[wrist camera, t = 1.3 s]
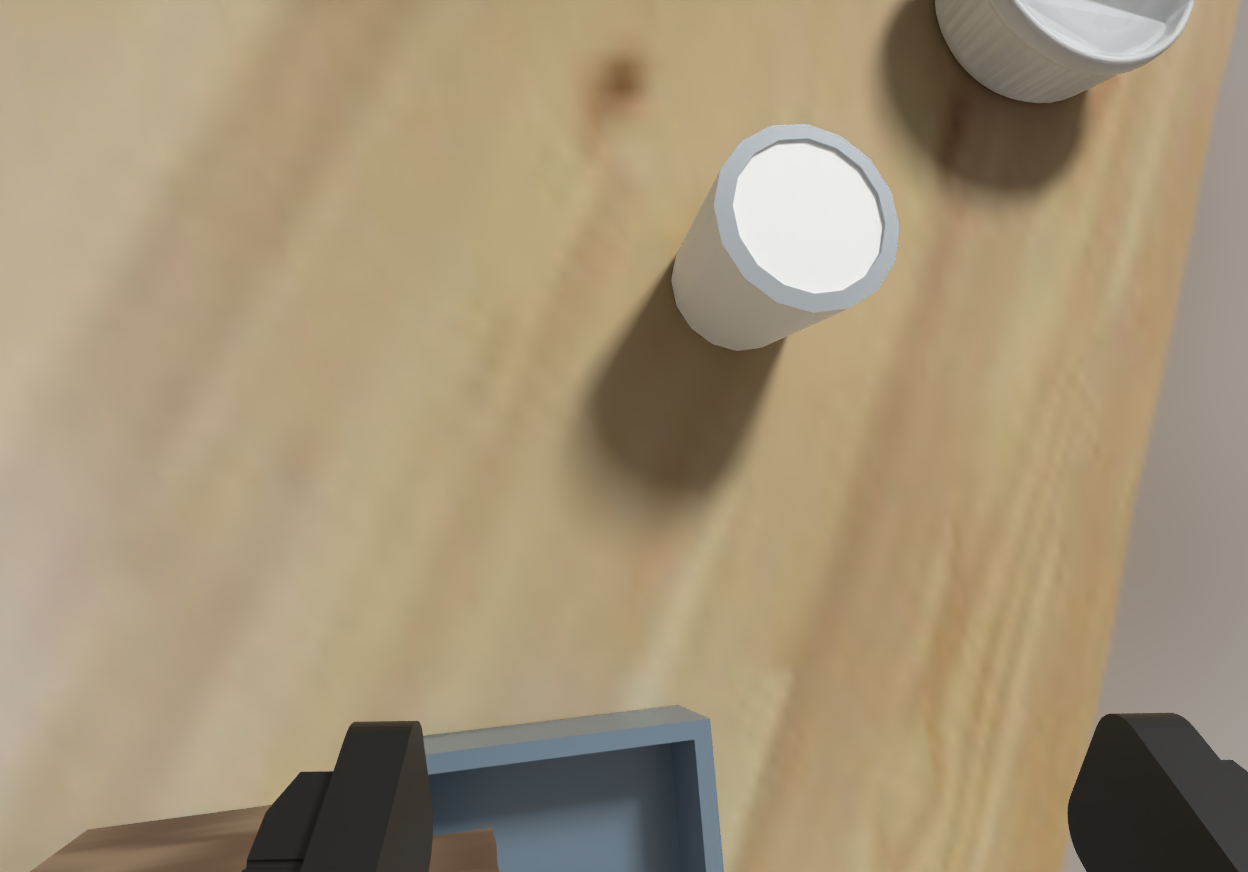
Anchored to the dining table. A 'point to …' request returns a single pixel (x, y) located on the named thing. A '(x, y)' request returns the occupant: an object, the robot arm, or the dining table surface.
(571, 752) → the blue square tray
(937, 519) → the dining table surface
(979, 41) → the ramekin
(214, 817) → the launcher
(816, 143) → the white cup
